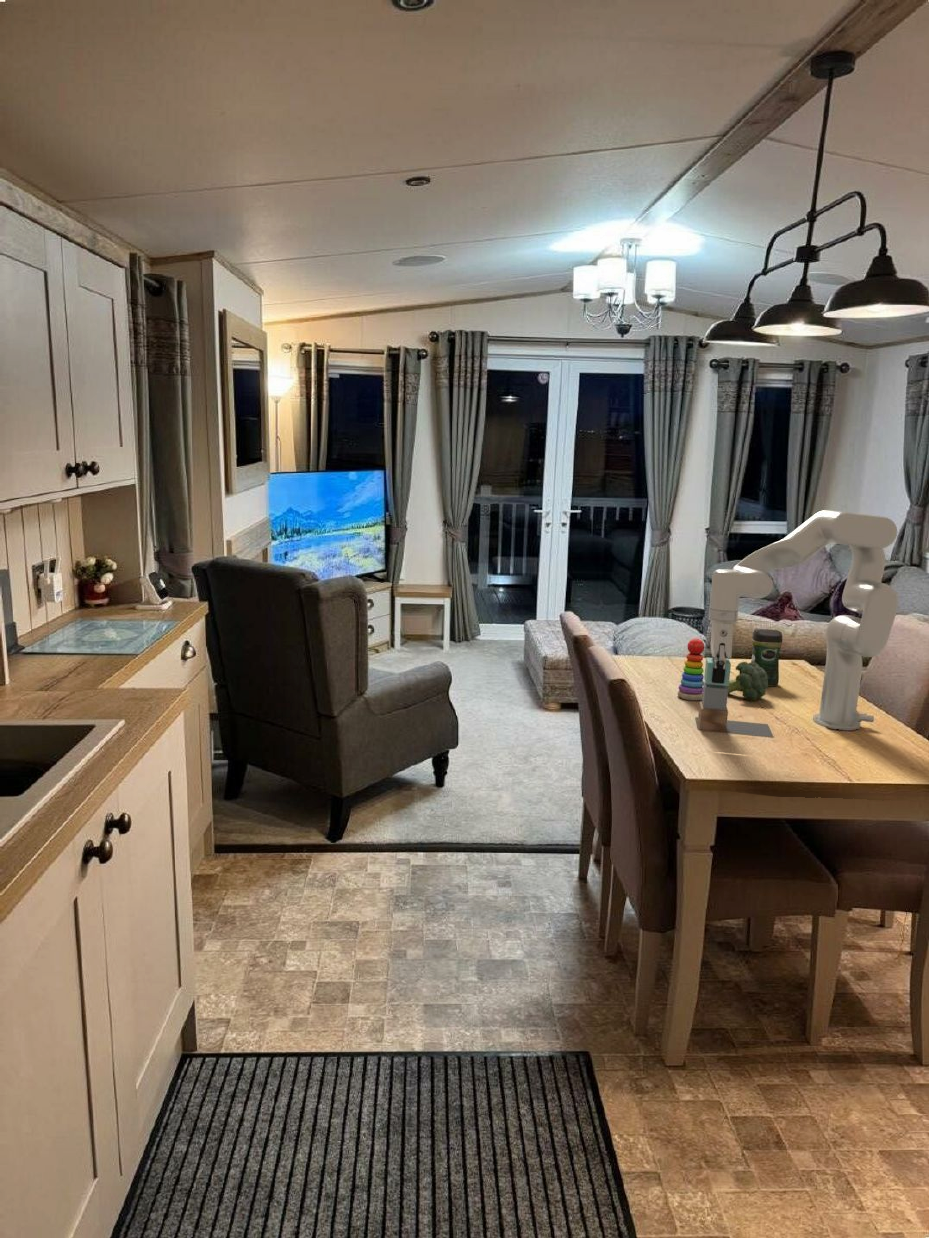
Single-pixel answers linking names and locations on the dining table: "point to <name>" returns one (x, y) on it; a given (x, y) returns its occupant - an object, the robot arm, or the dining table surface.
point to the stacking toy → (693, 672)
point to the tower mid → (714, 696)
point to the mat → (745, 728)
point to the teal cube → (709, 671)
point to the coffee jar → (767, 652)
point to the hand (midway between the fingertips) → (716, 679)
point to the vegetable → (749, 681)
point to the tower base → (712, 719)
